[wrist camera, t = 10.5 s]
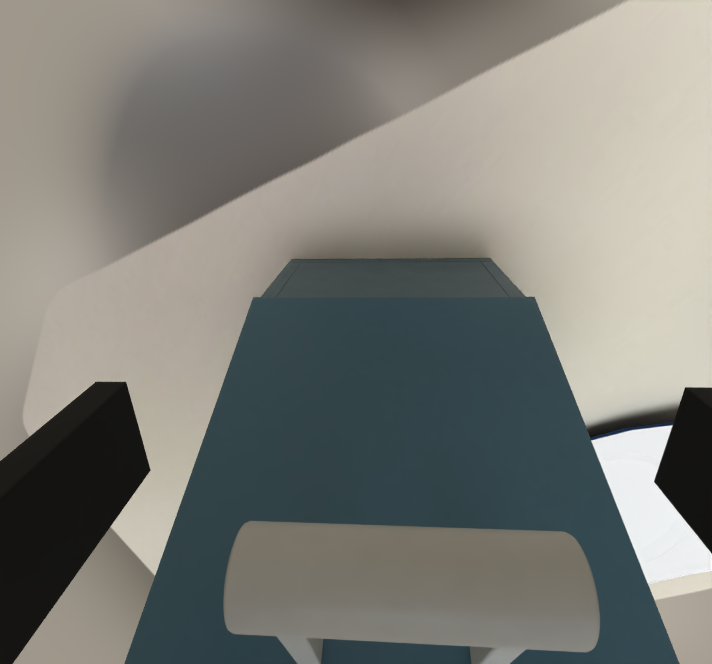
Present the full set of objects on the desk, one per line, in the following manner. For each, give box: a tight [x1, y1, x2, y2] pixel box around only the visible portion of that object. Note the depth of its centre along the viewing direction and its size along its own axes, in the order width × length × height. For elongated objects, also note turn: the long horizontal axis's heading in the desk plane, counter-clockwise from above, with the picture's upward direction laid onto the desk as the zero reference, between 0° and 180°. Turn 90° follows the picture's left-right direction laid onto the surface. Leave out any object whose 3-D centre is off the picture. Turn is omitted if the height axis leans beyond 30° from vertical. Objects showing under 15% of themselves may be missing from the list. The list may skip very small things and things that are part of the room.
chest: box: [261, 258, 525, 297], centre depth 33 cm, size 18×16×10 cm
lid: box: [125, 297, 679, 664], centre depth 15 cm, size 19×16×9 cm
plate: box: [590, 422, 712, 584], centre depth 42 cm, size 20×20×3 cm
